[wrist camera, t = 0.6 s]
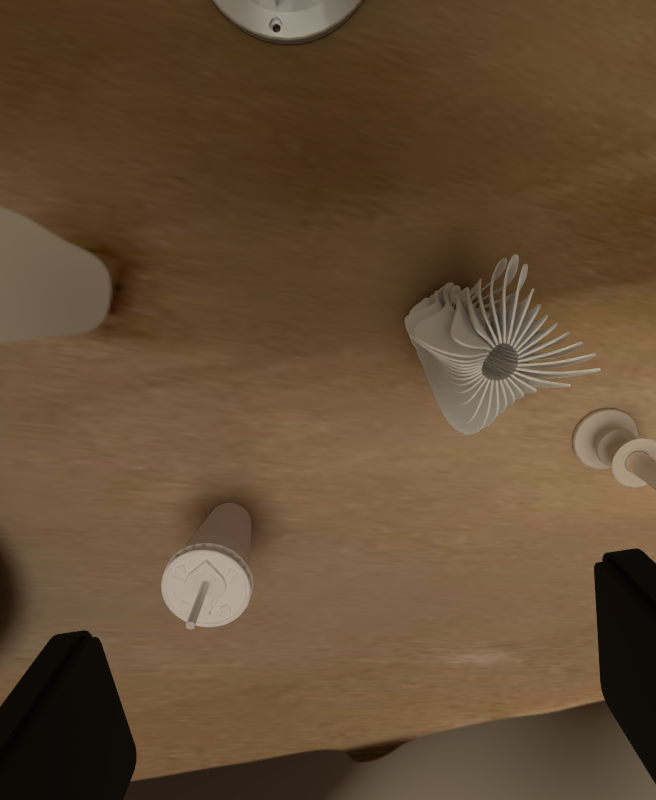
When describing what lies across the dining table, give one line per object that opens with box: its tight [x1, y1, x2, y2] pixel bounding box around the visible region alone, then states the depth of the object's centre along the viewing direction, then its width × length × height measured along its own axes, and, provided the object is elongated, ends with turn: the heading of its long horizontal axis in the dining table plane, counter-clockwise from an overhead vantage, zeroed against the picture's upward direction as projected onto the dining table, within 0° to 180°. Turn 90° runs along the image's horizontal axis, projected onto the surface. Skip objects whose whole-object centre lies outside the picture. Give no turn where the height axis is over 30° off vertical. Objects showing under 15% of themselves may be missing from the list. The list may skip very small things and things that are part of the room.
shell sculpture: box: [404, 254, 601, 435], centre depth 33 cm, size 8×8×18 cm
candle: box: [572, 408, 656, 489], centre depth 40 cm, size 5×5×10 cm
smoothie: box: [161, 503, 253, 629], centre depth 40 cm, size 6×6×14 cm
